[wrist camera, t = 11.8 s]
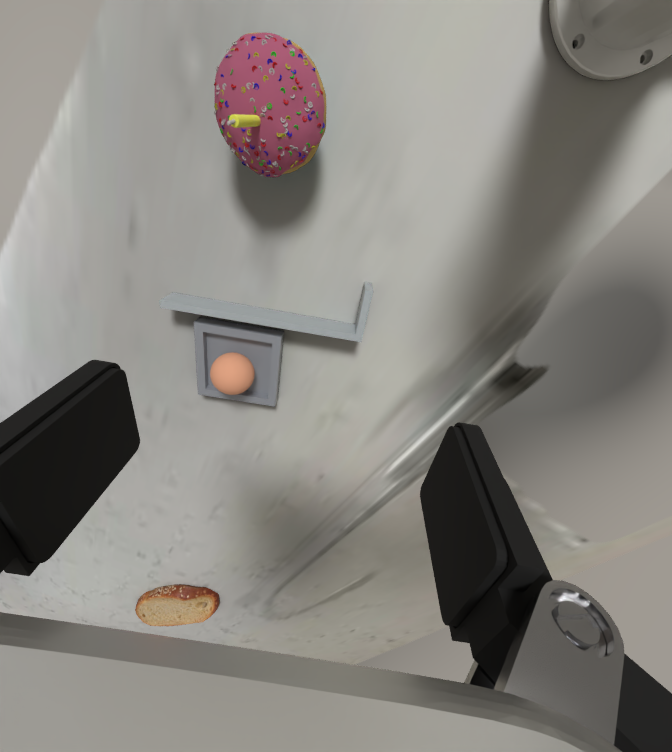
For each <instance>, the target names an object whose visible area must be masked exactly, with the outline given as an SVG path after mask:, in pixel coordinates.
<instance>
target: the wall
mask: <svg viewBox="0 0 672 752" xmlns="http://www.w3.org/2000/svg"><path fill="white" fill-rule="evenodd" d="M372 294H373V288H372V283H368V282H364V286H363V291H362V296H361V300H360V305H359V310H358V314H357V319H356V324H351V323H345V322H340V321H334V320H328V319H322V318H317V317H311V316H305V315H299V314H294V313H288V312H282V311H276V310H271V309H265V308H259V307H253V306H248V305H242V304H236V303H231V302H225V301H219V300H213V299H208V298H202V297H196V296H190V295H185V294H179V293H173V292H172V293H171V294H169V295H168V296H166V297H164V298H163V299H161V300H159V303H160V308H165V309H170V310H176V311H182V312H188V313H194V314H200V315H205V316H211V317H217V318H223V319H229V320H235V321H240V322H246V323H252V324H258V325H264V326H270V327H275V328H281V329H287V330H293V331H299V332H305V333H310V334H316V335H322V336H328V337H334V338H340V339H345V340H351V341H357V342H362V338H363V333H364V329H365V324H366V320H367V316H368V311H369V307H370V303H371V298H372Z"/></svg>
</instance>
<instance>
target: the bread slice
mask: <svg viewBox="0 0 672 752" xmlns="http://www.w3.org/2000/svg"><path fill="white" fill-rule="evenodd" d="M218 606H219V594H218V593H216V592H214V591H212V590H211V589H209V588H206V587H195V586H190V585H181V584H179V585H168V586H162V587H157V588H155V589H154V590H152V591H148V592H146V593H144V594H143V595H142V596H141V597H140V598H139V600H138V602H137V605H136V609H135V611H136V614H137V616H138V617H139V618H140V619H141V620H142V621H143V622H144V623H146V624H148V625H150V626H174V625H182V624H192V623H199V622H204V621H205V620H206V619H208V618H209V617H210V616H211V615H213V614H214V612H215V611H216V610H217V608H218Z"/></svg>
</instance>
